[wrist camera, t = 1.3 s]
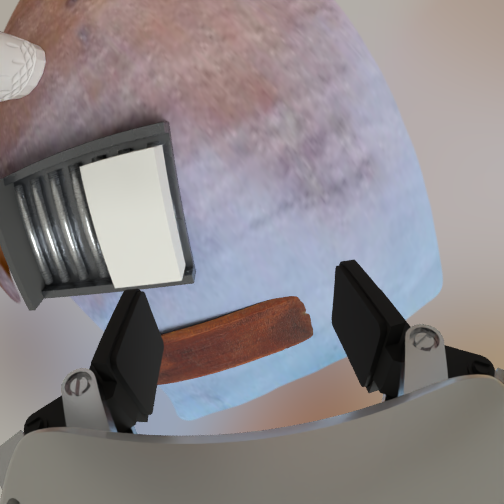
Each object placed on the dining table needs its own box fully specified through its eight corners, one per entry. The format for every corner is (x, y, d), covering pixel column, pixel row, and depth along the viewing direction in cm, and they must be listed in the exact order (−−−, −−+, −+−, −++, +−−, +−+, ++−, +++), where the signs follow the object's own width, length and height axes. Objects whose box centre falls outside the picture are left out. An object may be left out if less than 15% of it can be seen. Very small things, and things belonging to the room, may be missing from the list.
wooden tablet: (154, 382, 39) (152, 390, 37) (118, 341, 34) (115, 349, 33) (315, 338, 37) (319, 346, 35) (300, 285, 33) (303, 293, 31)
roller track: (9, 176, 22) (-16, 187, 17) (169, 122, 23) (156, 121, 18) (46, 289, 29) (29, 310, 24) (195, 271, 30) (191, 297, 25)
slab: (94, 161, 21) (79, 167, 19) (162, 144, 22) (153, 147, 19) (123, 272, 27) (115, 288, 24) (185, 265, 27) (181, 280, 24)
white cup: (60, 42, 16) (6, 24, 7) (35, 107, 19) (-25, 112, 10) (20, 41, 14) (-32, 31, 5) (-2, 99, 17) (-56, 106, 8)
